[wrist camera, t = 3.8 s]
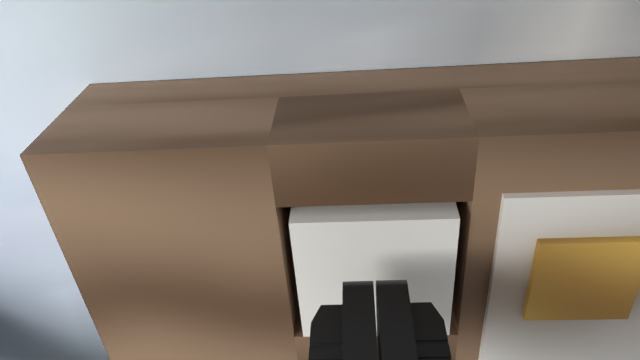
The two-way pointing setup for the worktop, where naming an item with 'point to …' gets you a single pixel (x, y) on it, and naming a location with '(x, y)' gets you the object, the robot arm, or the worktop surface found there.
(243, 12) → the worktop surface
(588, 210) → the button board
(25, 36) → the worktop surface
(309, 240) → the button
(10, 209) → the worktop surface
